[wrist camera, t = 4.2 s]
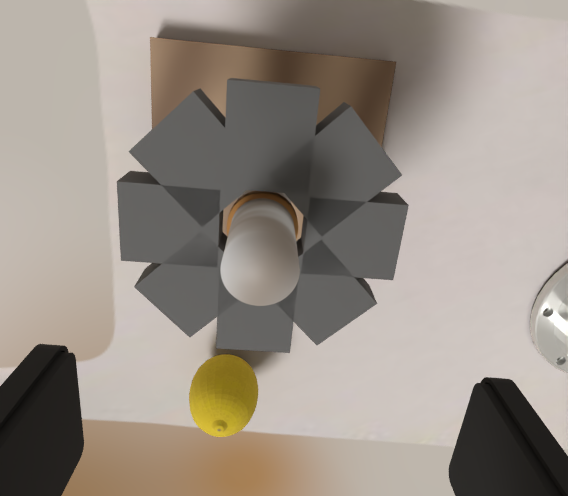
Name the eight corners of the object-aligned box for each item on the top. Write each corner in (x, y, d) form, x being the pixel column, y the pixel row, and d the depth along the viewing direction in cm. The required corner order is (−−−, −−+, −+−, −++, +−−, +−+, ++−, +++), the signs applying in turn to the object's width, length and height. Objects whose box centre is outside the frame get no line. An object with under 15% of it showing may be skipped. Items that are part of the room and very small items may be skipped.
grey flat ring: (416, 95, 20) (430, 99, 19) (369, 336, 25) (376, 358, 24) (125, 67, 20) (111, 68, 18) (136, 321, 25) (125, 342, 23)
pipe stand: (390, 61, 31) (526, 65, 14) (355, 270, 37) (422, 441, 21) (155, 38, 30) (12, 12, 14) (159, 256, 36) (64, 422, 20)
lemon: (192, 380, 41) (175, 451, 34) (204, 330, 39) (188, 393, 32) (251, 392, 42) (247, 463, 34) (265, 343, 40) (264, 408, 32)
